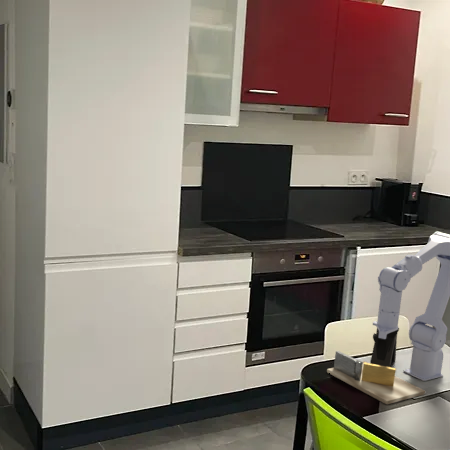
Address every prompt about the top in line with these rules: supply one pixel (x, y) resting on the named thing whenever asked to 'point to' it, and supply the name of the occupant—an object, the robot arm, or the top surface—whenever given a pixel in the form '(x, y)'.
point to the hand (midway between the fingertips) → (383, 355)
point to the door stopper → (389, 358)
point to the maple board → (381, 388)
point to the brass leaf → (378, 374)
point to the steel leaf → (348, 365)
